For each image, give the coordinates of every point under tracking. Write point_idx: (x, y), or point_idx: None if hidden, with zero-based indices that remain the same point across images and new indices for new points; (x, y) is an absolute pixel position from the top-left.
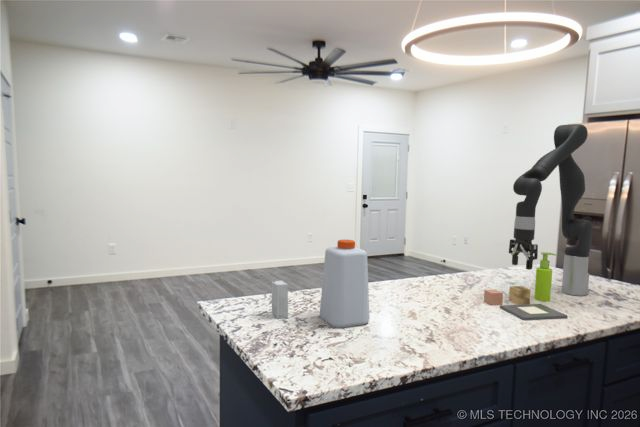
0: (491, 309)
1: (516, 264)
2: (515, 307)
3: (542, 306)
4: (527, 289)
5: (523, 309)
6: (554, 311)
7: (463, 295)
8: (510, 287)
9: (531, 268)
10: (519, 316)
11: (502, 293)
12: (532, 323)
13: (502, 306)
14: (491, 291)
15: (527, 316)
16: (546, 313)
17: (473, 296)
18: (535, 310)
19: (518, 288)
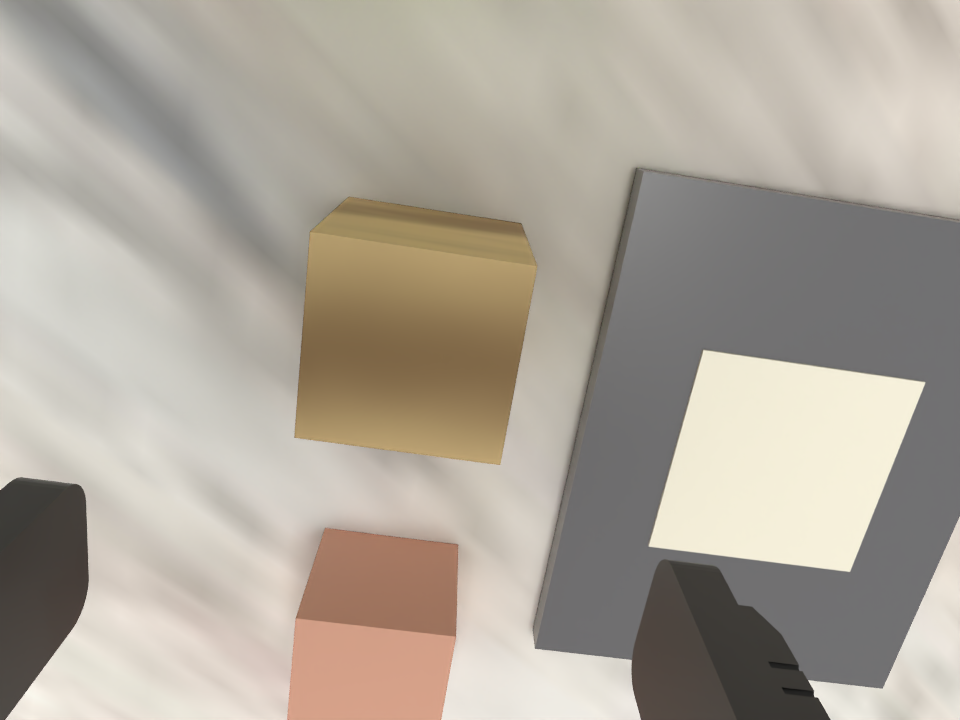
0: (542, 716)
1: (77, 516)
2: (640, 558)
3: (733, 244)
4: (513, 309)
5: (727, 540)
6: (922, 267)
7: (81, 684)
8: (312, 433)
9: (715, 580)
10: (820, 674)
11: (455, 638)
12: (951, 656)
13: (569, 647)
14: (366, 712)
15: (877, 642)
16: (916, 412)
17: (127, 618)
18: (804, 451)
19: (427, 401)
